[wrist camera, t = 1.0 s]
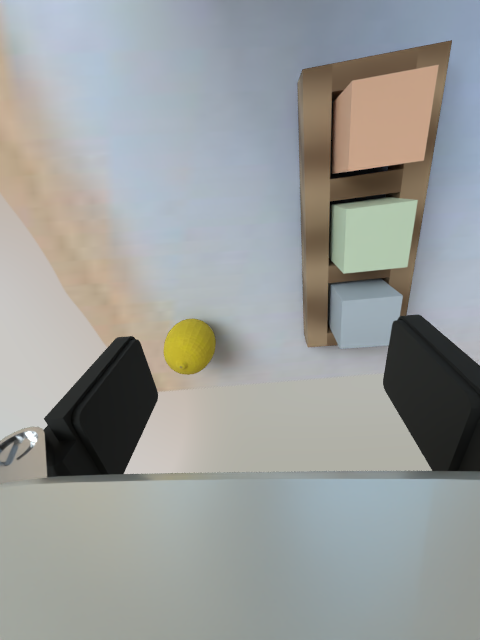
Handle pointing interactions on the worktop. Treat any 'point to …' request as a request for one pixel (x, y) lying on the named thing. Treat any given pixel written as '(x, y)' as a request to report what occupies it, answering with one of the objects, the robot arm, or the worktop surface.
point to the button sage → (372, 234)
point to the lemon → (189, 346)
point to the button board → (353, 177)
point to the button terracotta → (383, 120)
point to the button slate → (363, 312)
